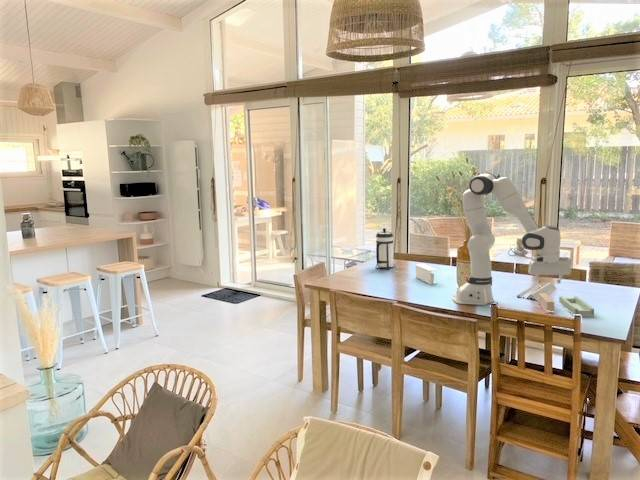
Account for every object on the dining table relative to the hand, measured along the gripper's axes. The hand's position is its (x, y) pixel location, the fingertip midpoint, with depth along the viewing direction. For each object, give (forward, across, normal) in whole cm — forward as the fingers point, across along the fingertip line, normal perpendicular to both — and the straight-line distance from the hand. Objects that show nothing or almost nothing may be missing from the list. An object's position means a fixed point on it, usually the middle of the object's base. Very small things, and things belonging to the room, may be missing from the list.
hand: (548, 283), depth 253 cm
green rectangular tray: (+14, -14, -1) cm, 20 cm away
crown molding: (+16, -4, -33) cm, 37 cm away
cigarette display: (+16, +58, -63) cm, 87 cm away
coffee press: (+16, +85, -100) cm, 132 cm away
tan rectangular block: (+15, 0, -4) cm, 15 cm away
